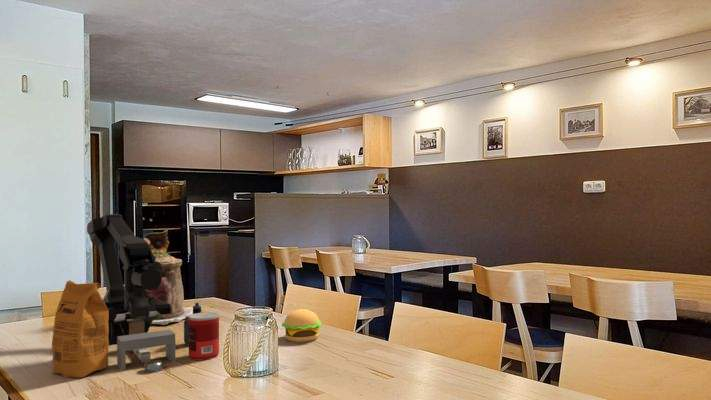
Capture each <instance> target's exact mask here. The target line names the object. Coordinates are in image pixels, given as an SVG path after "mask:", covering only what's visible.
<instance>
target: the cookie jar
mask: <svg viewBox="0 0 711 400" xmlns="http://www.w3.org/2000/svg"><path fill="white" fill-rule="evenodd" d="M168 232H169V230H167V229H166V230H163V232H150V233H148V234H146V235H145V236H144V237H143V238H142V239H143V240H145V241H146V242H147V243H148V245H149V246H150V248H151V251H152V253H153V255H154V257H155V259H156V260H155V263H156V265H155V266H154V269H155V270H157V271H158V272H159V273H160V275H161V283H160V285H159V286H158V287H157V288H156V289H154V290H147V297H148V298H149V297H156V298H157V302H165V301H166V302H168V303H169V304H170V305H171V306H172V313H171V314H164V315H161V314H159V313H158V312H157V316H158V318H155V319H154V320H153V321H152V323H151V325H162V326H166V325H168V324H169V323H174V322H175V323H180V322H181V321H183V320H185V319H186V318H185V316H188V315H192V314H193V306H191V307H190V306H189V307H183V303H184V300H185V298H184V297H185V296H184V286H183V281H182V275H181V266H182V265H183V260H182V259H180V258H176V257H174V256H172V255H170V254H169V252H167V251H168V247H169V244H170V241H169V236H168ZM200 306H201V309H202V305H200ZM136 319H142V320H143V316H140V317H137V318H133V319H129V320H136Z"/></svg>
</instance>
